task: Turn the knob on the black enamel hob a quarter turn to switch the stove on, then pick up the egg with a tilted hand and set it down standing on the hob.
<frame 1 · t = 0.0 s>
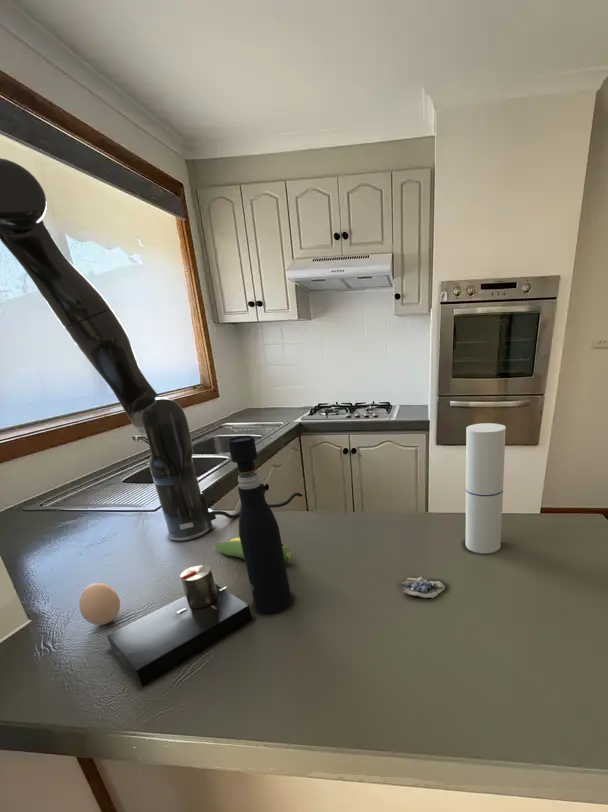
edible corn: (253, 559, 91), on the table
egg: (107, 622, 74), on the table
cylindrical container: (482, 545, 89), on the table
blueberries: (423, 589, 76), on the table
dark water bottle: (273, 603, 75), on the table
hob: (184, 634, 69), on the table
stove knob: (199, 585, 71), point 6 cm above the table, hinge at 0.0°
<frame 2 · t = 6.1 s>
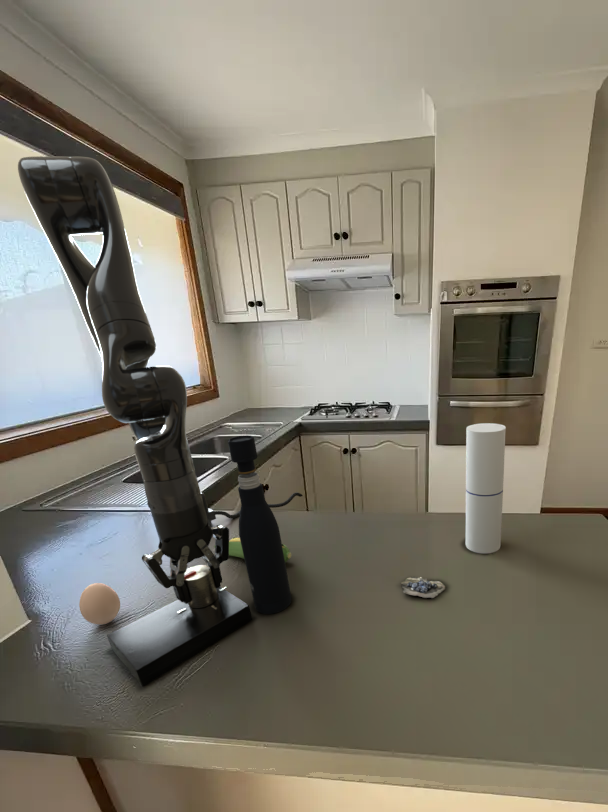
hand: (201, 593, 72), 4 cm above the table, tool pointing down, fingers closed on stove knob, 5 cm apart
stove knob: (199, 585, 71), point 6 cm above the table, hinge at -0.1°, touching gripper
everything else where it was.
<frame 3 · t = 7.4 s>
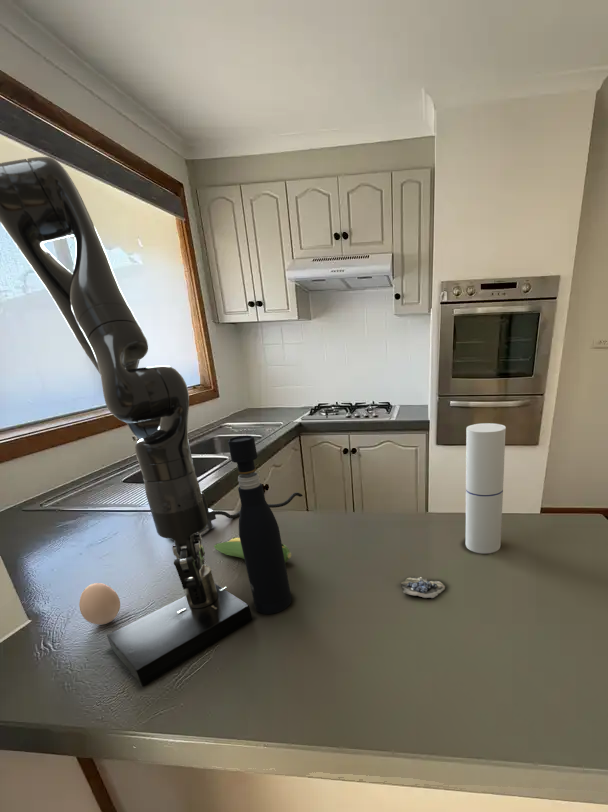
hand: (200, 593, 72), 4 cm above the table, tool pointing down, fingers closed on stove knob, 5 cm apart
stove knob: (199, 585, 71), point 6 cm above the table, hinge at 61.8°, touching gripper
everything else where it was.
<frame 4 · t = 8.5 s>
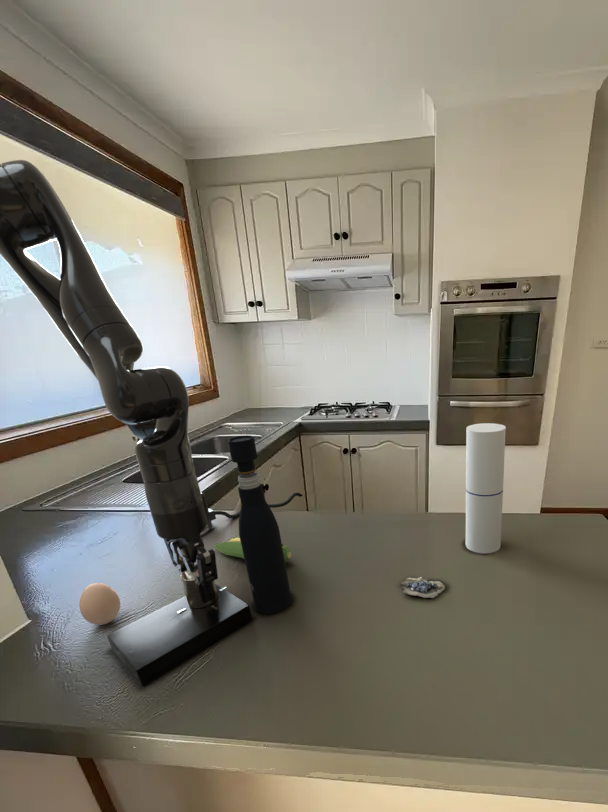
hand: (200, 594, 72), 4 cm above the table, tool pointing down, fingers open, 5 cm apart
stove knob: (199, 585, 71), point 6 cm above the table, hinge at 92.3°
everything else where it was.
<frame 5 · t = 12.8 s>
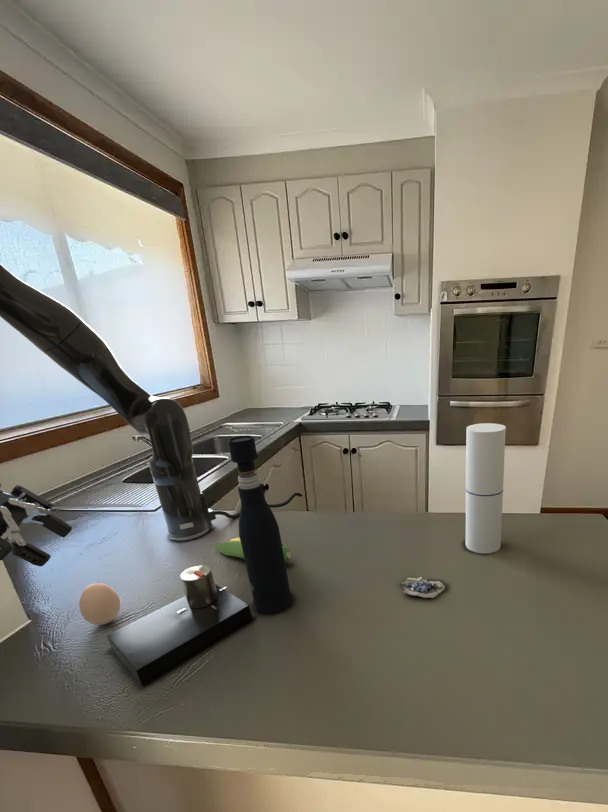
hand: (58, 546, 69), 15 cm above the table, tool tilted 35°, fingers open, 8 cm apart
nothing on the table moved.
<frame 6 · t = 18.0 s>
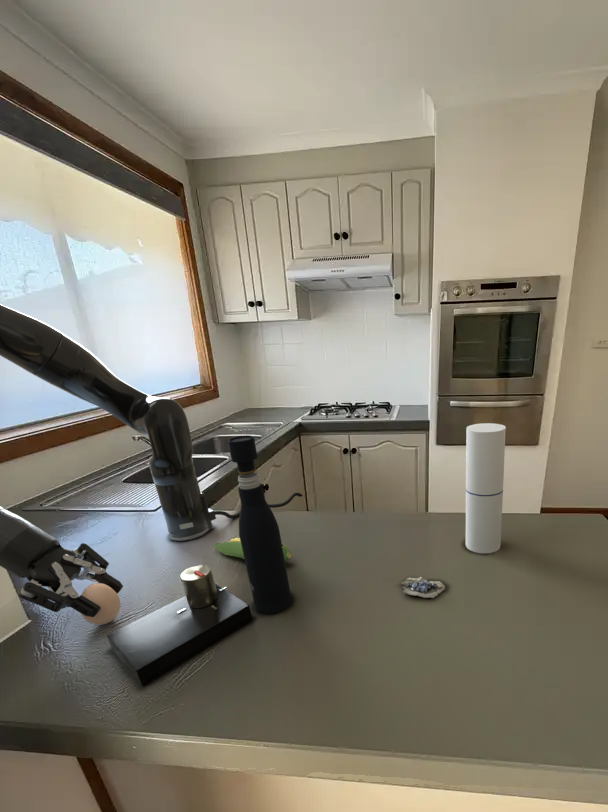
hand: (108, 600, 72), 4 cm above the table, tool tilted 45°, fingers closed on egg, 5 cm apart
egg: (107, 622, 74), on the table, touching gripper
everything else where it was.
when the fingers open (7 cm above the table, at t = 25.7 s): egg stays where it is, resting on hob.
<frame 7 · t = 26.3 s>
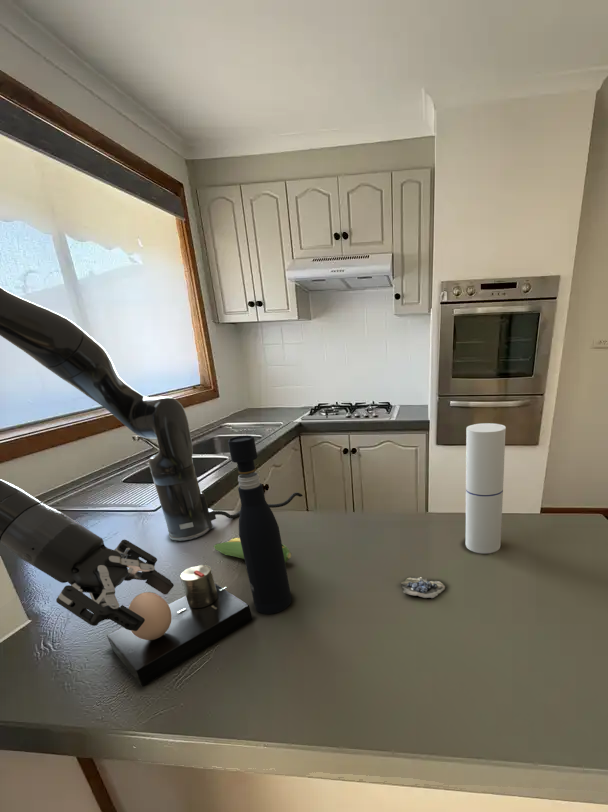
hand: (156, 606, 62), 8 cm above the table, tool tilted 45°, fingers open, 8 cm apart
egg: (156, 637, 64), point 3 cm above the table, touching hob
everything else where it was.
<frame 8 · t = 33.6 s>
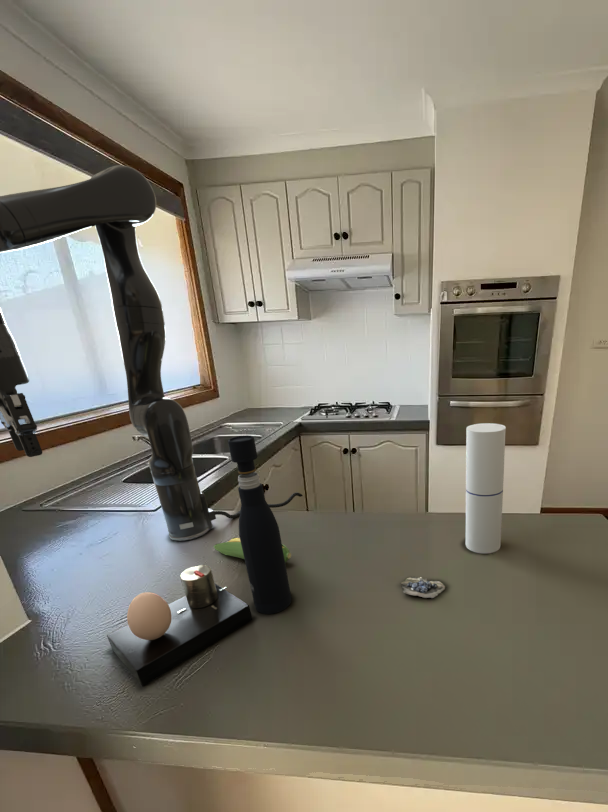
hand: (29, 452, 74), 28 cm above the table, tool pointing down, fingers open, 8 cm apart
nothing on the table moved.
at the end: stove knob at +92° (first picture: +0°); egg 0.2 cm from the target spot, point 2.8 cm above the table; egg tilted 0° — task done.
